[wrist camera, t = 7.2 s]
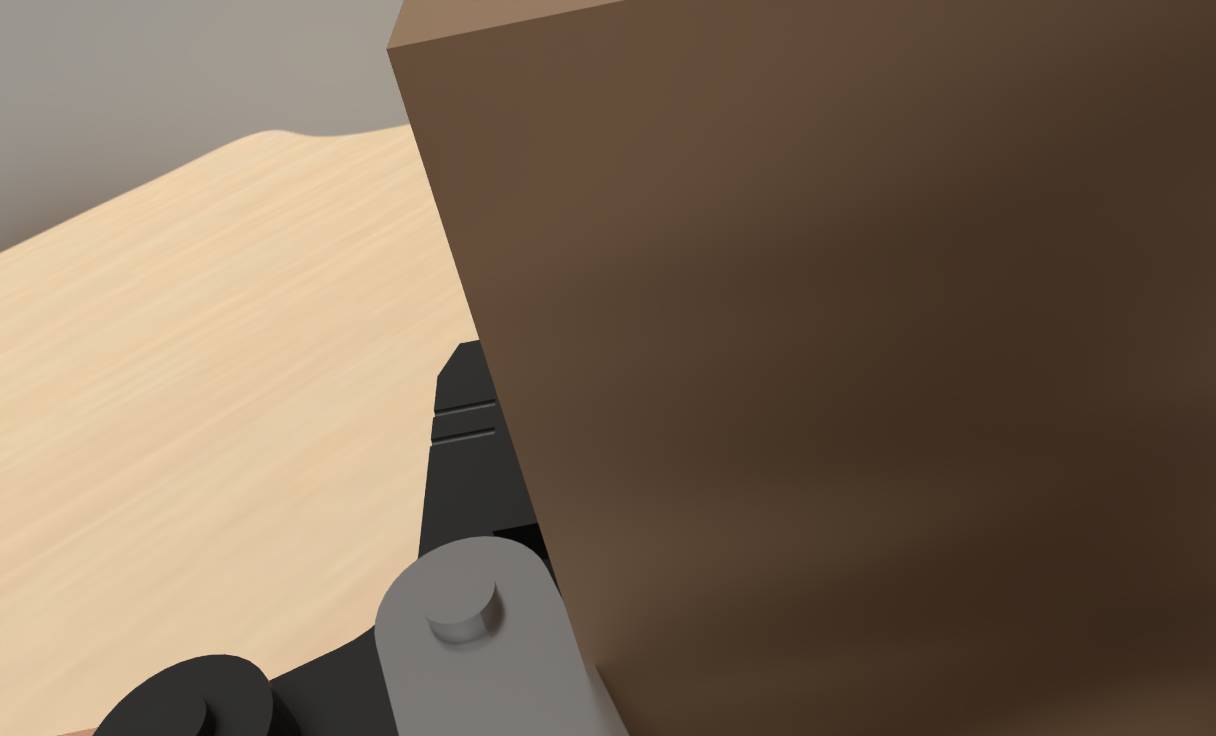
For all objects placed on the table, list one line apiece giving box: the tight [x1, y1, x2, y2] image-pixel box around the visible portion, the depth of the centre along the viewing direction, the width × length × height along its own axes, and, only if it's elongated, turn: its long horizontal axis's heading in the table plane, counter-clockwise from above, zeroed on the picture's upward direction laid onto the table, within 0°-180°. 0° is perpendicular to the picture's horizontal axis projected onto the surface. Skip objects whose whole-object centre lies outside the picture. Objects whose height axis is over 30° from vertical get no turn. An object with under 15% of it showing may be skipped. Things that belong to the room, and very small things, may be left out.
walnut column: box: [387, 0, 1216, 736], centre depth 8 cm, size 5×5×11 cm
